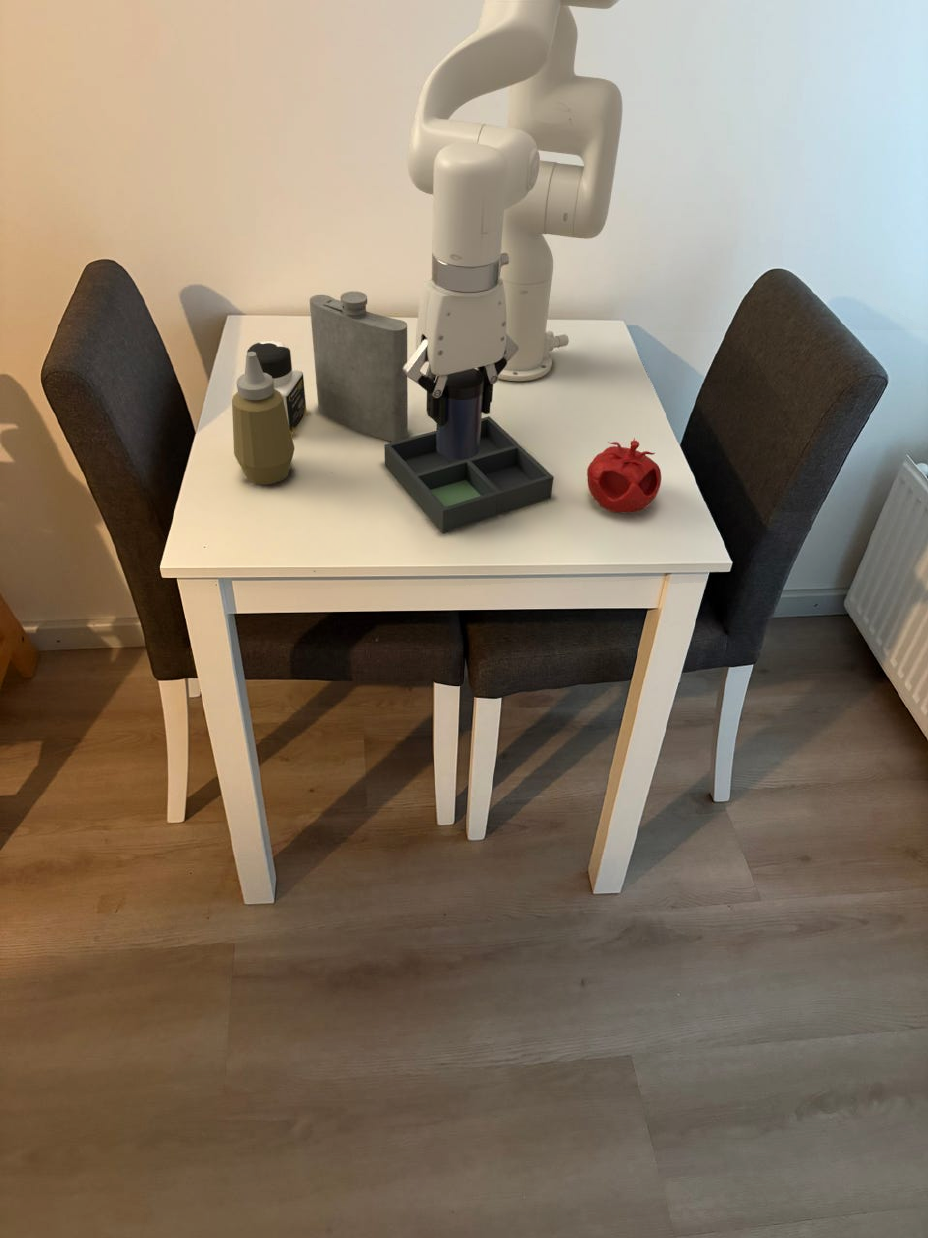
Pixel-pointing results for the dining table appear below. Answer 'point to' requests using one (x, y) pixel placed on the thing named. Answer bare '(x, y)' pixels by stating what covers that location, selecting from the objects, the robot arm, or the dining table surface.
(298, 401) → the medicine bottle
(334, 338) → the hip flask
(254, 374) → the squeeze bottle
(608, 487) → the red hollow tomato
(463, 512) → the tray
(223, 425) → the dining table surface
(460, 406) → the thermos
